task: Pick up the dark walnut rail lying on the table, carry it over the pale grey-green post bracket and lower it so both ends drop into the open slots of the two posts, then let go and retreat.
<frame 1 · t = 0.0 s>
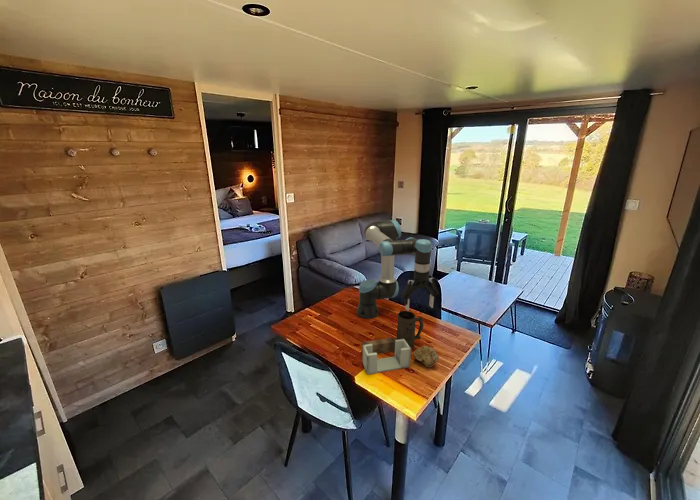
hand: (419, 308, 156), 28 cm above the table, fingers open, 13 cm apart
beer stein: (408, 344, 173), on the table
rail: (378, 351, 167), on the table
rock: (424, 364, 157), on the table
post bracket: (386, 365, 156), on the table
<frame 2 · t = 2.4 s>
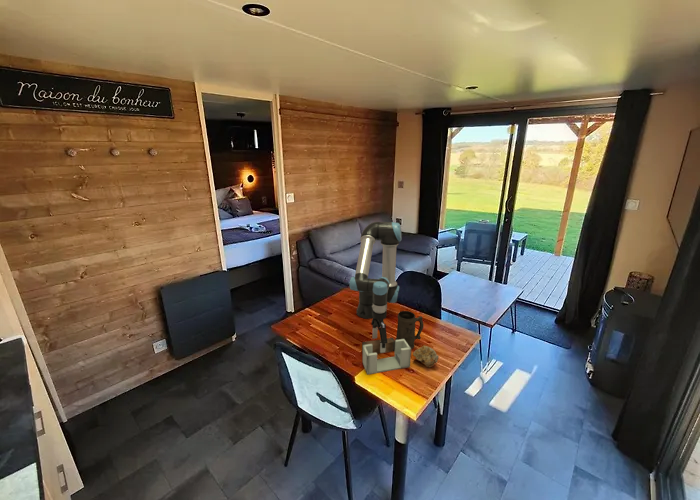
hand: (378, 345, 165), 4 cm above the table, fingers open, 13 cm apart
nothing on the table moved.
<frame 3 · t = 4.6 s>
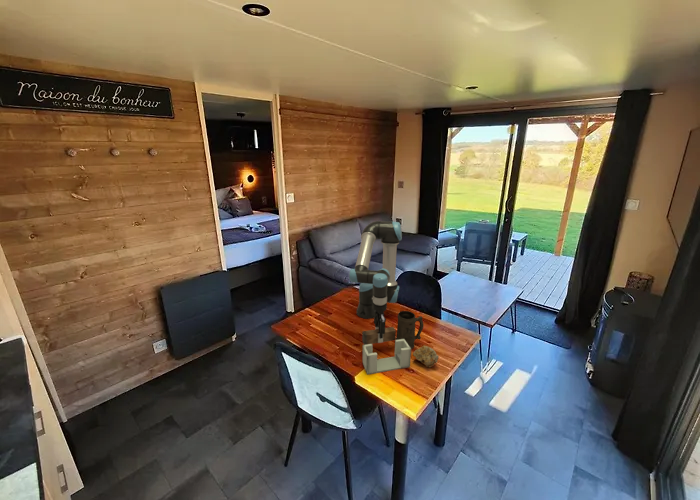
hand: (379, 339, 166), 7 cm above the table, fingers closed on rail, 4 cm apart
rail: (378, 340, 166), point 7 cm above the table, touching gripper
everything else where it was.
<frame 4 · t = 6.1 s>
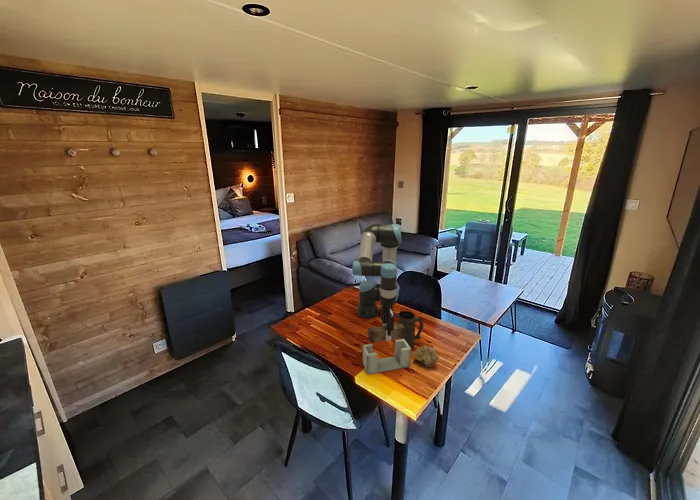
hand: (386, 337, 151), 17 cm above the table, fingers closed on rail, 4 cm apart
rail: (386, 338, 151), point 16 cm above the table, touching gripper
everything else where it was.
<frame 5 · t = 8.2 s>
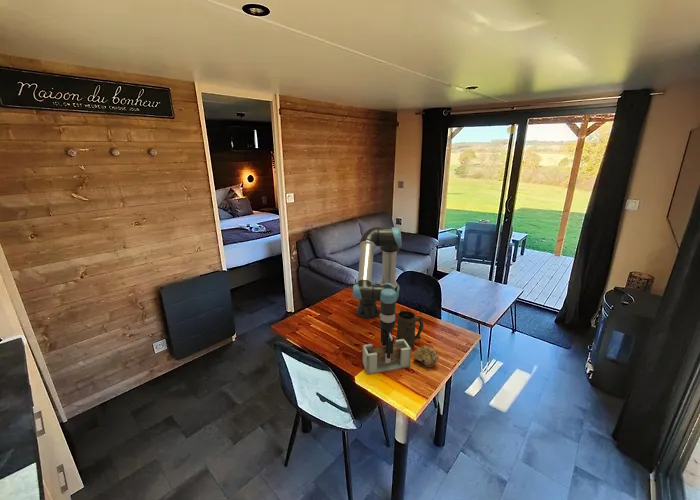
hand: (386, 359, 155), 4 cm above the table, fingers closed on rail, 4 cm apart
rail: (385, 358, 155), point 4 cm above the table, touching gripper, post bracket
everything else where it was.
when the fingers open (4 cm above the table, at t = 8.2 s): rail stays where it is, resting on post bracket.
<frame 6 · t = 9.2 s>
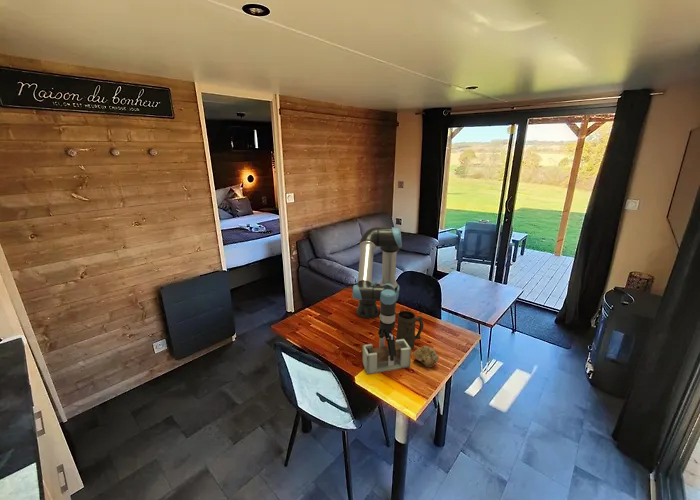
hand: (386, 356, 154), 5 cm above the table, fingers open, 13 cm apart
rail: (385, 358, 155), point 4 cm above the table, touching post bracket
everything else where it was.
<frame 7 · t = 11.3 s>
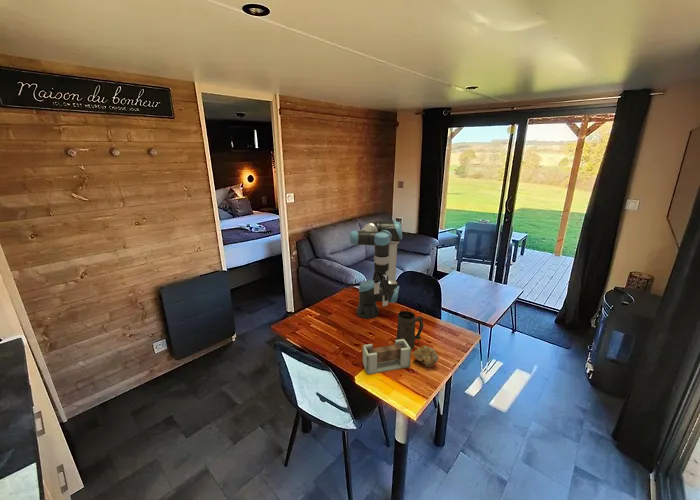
hand: (380, 299, 161), 30 cm above the table, fingers open, 13 cm apart
nothing on the table moved.
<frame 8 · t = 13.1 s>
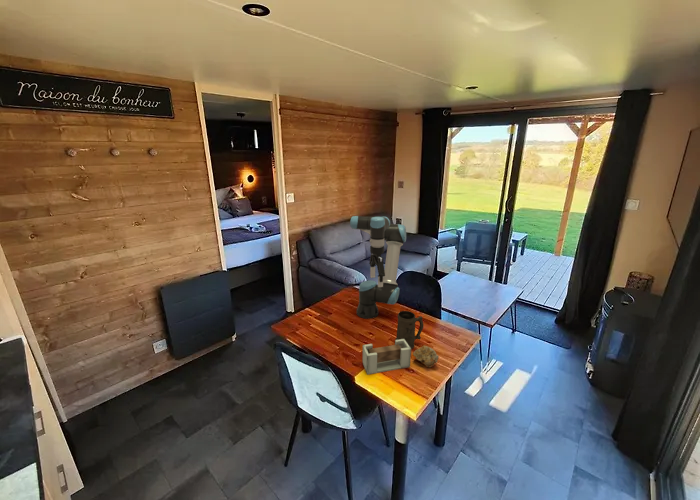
hand: (376, 282, 168), 37 cm above the table, fingers open, 13 cm apart
nothing on the table moved.
at the end: rail 0.2 cm off-centre on the post bracket, point 4.0 cm above the post bracket's base; rail tilted 0°; the gripper is holding nothing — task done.
